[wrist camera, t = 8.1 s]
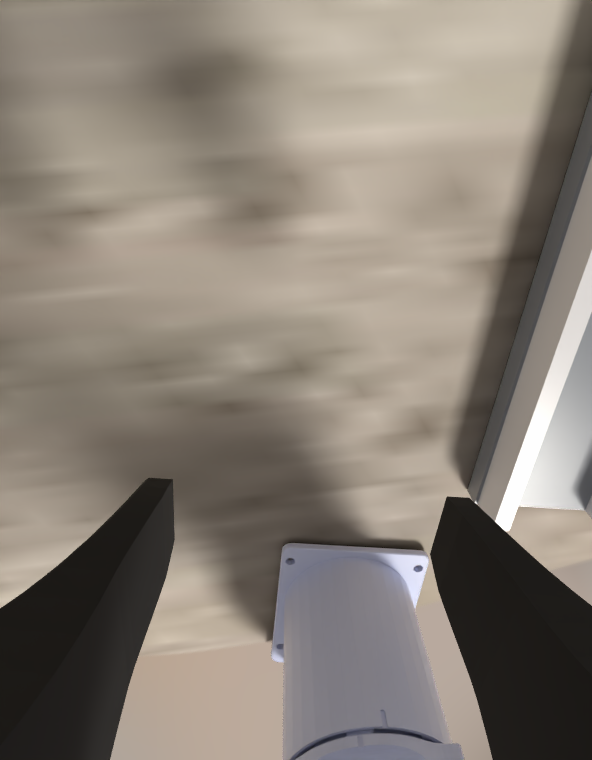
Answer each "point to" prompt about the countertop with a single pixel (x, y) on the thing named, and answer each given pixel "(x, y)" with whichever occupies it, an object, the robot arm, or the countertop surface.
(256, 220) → the countertop surface
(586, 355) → the grey tray
